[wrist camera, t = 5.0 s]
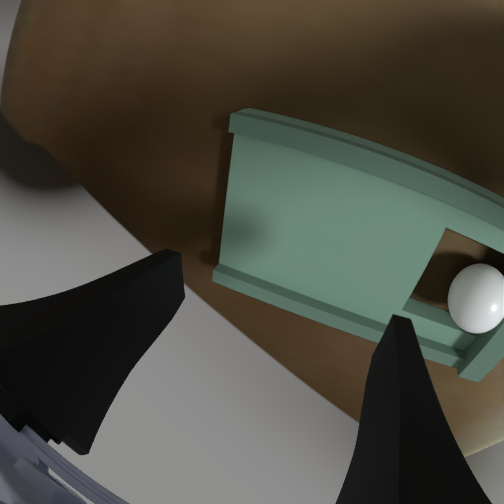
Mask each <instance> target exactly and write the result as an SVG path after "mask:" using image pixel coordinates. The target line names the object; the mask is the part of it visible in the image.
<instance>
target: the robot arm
mask: <svg viewBox="0 0 504 504" xmlns="http://www.w3.org/2000/svg"><path fill="white" fill-rule="evenodd" d="M184 298H185V292H184V282H183V272H182V261H181V253H179V252H175V251H172V250H169V249H165V250H162V251H159V252H157V253H154V254H152V255H150V256H148V257H146V258H143V259H141V260H139V261H137V262H134V263H132V264H130V265H128V266H126V267H124V268H121V269H119V270H117V271H115V272H113V273H110V274H108V275H106V276H104V277H101V278H98V279H96V280H94V281H91V282H89V283H87V284H84V285H81V286H79V287H76V288H73V289H70V290H67V291H65V292H61V293H58V294H55V295H51V296H47V297H43V298H39V299H36V300H31V301H26V302H21V303H16V304H9V305H1V306H0V504H87V503H86V502H85V501H84V500H83V499H82V498H81V497H80V496H79V495H78V494H76V493H75V492H74V491H73V490H71V489H70V488H69V487H67V486H66V485H64V484H63V483H61V482H60V481H59V480H57V479H56V478H54V477H53V476H51V475H50V474H49V473H48V467H49V468H50V469H51V470H52V471H54V472H55V473H56V474H57V475H58V476H59V477H61V478H62V479H63V480H64V481H66V482H67V483H68V484H69V485H71V486H72V487H73V488H74V489H76V490H77V491H78V492H80V493H81V494H83V495H84V496H85V497H86V498H88V499H89V500H90V501H92V502H93V503H95V504H129V503H128V502H126V501H124V500H123V499H121V498H120V497H118V496H116V495H115V494H113V493H112V492H110V491H109V490H107V489H106V488H104V487H103V486H101V485H100V484H99V483H97V482H96V481H94V480H93V479H91V478H90V477H88V476H87V475H86V474H84V473H83V472H82V471H81V470H79V469H78V468H77V467H75V466H74V465H73V464H72V463H70V462H69V461H68V460H66V459H65V458H64V457H63V456H62V455H60V454H59V453H58V452H57V451H56V450H54V449H53V448H52V447H51V446H50V445H48V444H47V443H48V441H49V440H50V439H52V440H53V441H54V442H55V443H57V444H60V443H61V442H64V443H65V444H66V445H67V446H68V447H70V448H71V449H72V450H74V451H75V452H76V453H77V454H79V455H86V454H89V451H90V448H91V446H92V443H93V441H94V439H95V436H96V434H97V432H98V429H99V427H100V425H101V423H102V421H103V419H104V417H105V415H106V413H107V411H108V409H109V407H110V405H111V404H112V402H113V400H114V398H115V397H116V395H117V393H118V391H119V389H120V388H121V386H122V385H123V383H124V381H125V380H126V378H127V377H128V375H129V373H130V372H131V370H132V369H133V368H134V366H135V365H136V363H137V362H138V361H139V360H140V358H141V357H142V356H143V355H144V353H145V352H146V351H147V350H148V349H149V347H150V346H151V345H152V344H153V342H154V341H155V340H156V339H157V337H158V336H159V335H160V334H161V333H162V331H163V330H164V329H165V328H166V326H167V325H168V323H169V322H170V321H171V320H172V318H173V317H174V315H175V314H176V312H177V310H178V309H179V307H180V305H181V304H182V302H183V300H184ZM336 504H492V503H491V502H490V500H489V499H488V497H487V496H486V494H485V493H484V492H483V490H482V488H481V486H480V485H479V483H478V482H477V480H476V478H475V476H474V475H473V473H472V471H471V469H470V468H469V466H468V464H467V462H466V460H465V458H464V456H463V454H462V452H461V450H460V448H459V447H458V445H457V443H456V440H455V438H454V436H453V434H452V432H451V430H450V427H449V425H448V423H447V420H446V418H445V416H444V413H443V411H442V408H441V406H440V403H439V400H438V398H437V395H436V392H435V390H434V387H433V384H432V381H431V378H430V375H429V372H428V369H427V367H426V364H425V361H424V358H423V355H422V351H421V348H420V345H419V342H418V339H417V336H416V332H415V329H414V326H413V323H412V320H411V319H410V318H406V317H402V316H399V315H395V314H392V317H391V319H390V321H389V323H388V325H387V327H386V329H385V331H384V333H383V336H382V338H381V340H380V342H379V344H378V346H377V348H376V350H375V351H374V353H373V355H372V359H371V363H370V368H369V372H368V376H367V380H366V385H365V392H364V398H363V405H362V412H361V418H360V424H359V430H358V435H357V441H356V445H355V450H354V453H353V457H352V460H351V463H350V466H349V469H348V472H347V475H346V478H345V481H344V483H343V486H342V489H341V491H340V494H339V496H338V499H337V501H336Z"/></svg>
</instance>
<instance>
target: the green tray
mask: <svg viewBox="0 0 504 504" xmlns="http://www.w3.org/2000/svg"><path fill="white" fill-rule="evenodd" d="M228 132H230V133H234V140H233V148H232V155H231V163H230V171H229V179H228V187H227V195H226V204H225V212H224V221H223V230H222V239H221V248H220V258H219V264H218V265H217V266H216V267H215V268H214V270H213V280H212V281H213V282H216V283H218V284H221V285H223V286H226V287H228V288H231V289H233V290H236V291H238V292H241V293H243V294H246V295H249V296H251V297H254V298H256V299H259V300H261V301H264V302H267V303H269V304H272V305H275V306H277V307H280V308H282V309H285V310H288V311H290V312H293V313H296V314H299V315H301V316H304V317H307V318H309V319H312V320H315V321H318V322H320V323H323V324H326V325H329V326H331V327H334V328H337V329H340V330H343V331H345V332H348V333H351V334H354V335H357V336H360V337H363V338H365V339H368V340H371V341H374V342H377V343H379V342H380V340H381V338H382V336H383V333H384V331H385V329H386V327H387V325H388V323H389V321H390V319H391V317H392V314H395V315H399V316H402V317H406V318H410V319H411V320H412V323H413V326H414V329H415V332H416V336H417V339H418V342H419V345H420V348H421V351H422V355H423V358H425V359H429V360H432V361H435V362H438V363H441V364H444V365H448V366H451V367H454V368H457V372H458V377H462V378H465V379H468V380H472V381H475V382H479V381H480V380H481V379H482V378H483V377H484V376H485V375H486V374H487V373H488V372H489V371H490V370H491V369H492V368H493V367H494V366H495V365H496V364H497V363H498V362H499V361H500V360H501V359H502V357H503V356H504V318H503V319H502V320H501V322H500V323H499V324H498V325H497V326H496V327H494V328H493V329H491V330H489V331H487V332H484V333H470V332H467V331H465V330H463V329H461V328H460V327H459V326H458V325H457V324H456V323H455V322H454V320H453V319H452V317H451V315H450V312H447V311H445V310H442V309H439V308H436V307H434V306H431V305H428V304H426V303H423V302H420V301H417V300H415V299H412V298H409V296H410V295H411V293H412V291H413V289H414V288H415V286H416V284H417V282H418V281H419V279H420V277H421V275H422V273H423V272H424V270H425V268H426V266H427V264H428V262H429V260H430V258H431V256H432V254H433V253H434V251H435V249H436V247H437V245H438V243H439V241H440V238H441V236H442V234H443V232H444V230H445V228H448V229H451V230H453V231H455V232H458V233H460V234H462V235H465V236H467V237H469V238H471V239H473V240H476V241H478V242H480V243H482V244H484V245H487V246H489V247H491V248H493V249H495V250H497V251H499V252H501V253H503V254H504V198H503V197H501V196H499V195H497V194H495V193H493V192H491V191H489V190H487V189H485V188H483V187H481V186H479V185H477V184H475V183H473V182H471V181H469V180H467V179H465V178H463V177H460V176H458V175H456V174H454V173H452V172H449V171H447V170H445V169H442V168H440V167H438V166H435V165H433V164H431V163H428V162H426V161H423V160H421V159H418V158H416V157H413V156H411V155H408V154H406V153H403V152H400V151H398V150H395V149H392V148H390V147H387V146H384V145H381V144H378V143H375V142H373V141H370V140H367V139H364V138H361V137H358V136H354V135H351V134H348V133H345V132H342V131H338V130H335V129H332V128H328V127H325V126H321V125H318V124H314V123H311V122H307V121H303V120H299V119H295V118H291V117H287V116H283V115H279V114H275V113H271V112H266V111H262V110H257V109H252V108H246V109H243V110H240V111H237V112H233V113H231V115H230V123H229V131H228Z"/></svg>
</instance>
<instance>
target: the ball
mask: <svg viewBox="0 0 504 504" xmlns="http://www.w3.org/2000/svg"><path fill="white" fill-rule="evenodd" d="M448 308H449V312H450V315H451V317H452V319H453V320H454V322H455V323H456V324H457V325H458V326H459V327H460V328H461V329H463V330H465V331H467V332H470V333H484V332H487V331H489V330H491V329H493V328H494V327H496V326H497V325H498V324H499V323H500V322H501V320H502V319H503V318H504V277H503V275H502V274H501V273H500V272H499V271H498V270H497V269H496V268H494V267H492V266H490V265H487V264H473V265H470V266H468V267H466V268H464V269H463V270H461V271H460V272H459V273H458V274H457V276H456V277H455V278H454V280H453V282H452V284H451V286H450V289H449V293H448Z"/></svg>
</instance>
